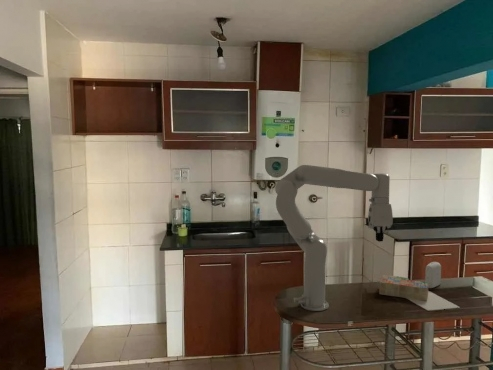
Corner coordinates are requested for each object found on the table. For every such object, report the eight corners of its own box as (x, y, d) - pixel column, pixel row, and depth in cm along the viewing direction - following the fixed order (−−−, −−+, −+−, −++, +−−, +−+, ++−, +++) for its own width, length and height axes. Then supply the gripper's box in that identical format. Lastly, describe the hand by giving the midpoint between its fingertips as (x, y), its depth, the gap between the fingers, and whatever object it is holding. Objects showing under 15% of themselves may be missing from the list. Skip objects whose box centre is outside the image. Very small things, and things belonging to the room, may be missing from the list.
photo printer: (432, 289, 191) (432, 265, 190) (423, 286, 194) (424, 263, 193) (441, 284, 197) (442, 261, 196) (433, 282, 200) (434, 259, 199)
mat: (427, 311, 163) (427, 310, 163) (393, 290, 189) (393, 289, 189) (459, 308, 167) (459, 307, 167) (421, 288, 192) (421, 287, 192)
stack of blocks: (427, 301, 173) (428, 293, 184) (427, 288, 173) (429, 280, 183) (378, 294, 183) (382, 286, 194) (378, 281, 183) (383, 274, 194)
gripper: (369, 202, 164) (368, 243, 166) (400, 201, 167) (399, 241, 169) (360, 200, 172) (360, 239, 173) (390, 199, 175) (389, 238, 176)
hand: (379, 240), depth 171 cm, fingers closed
